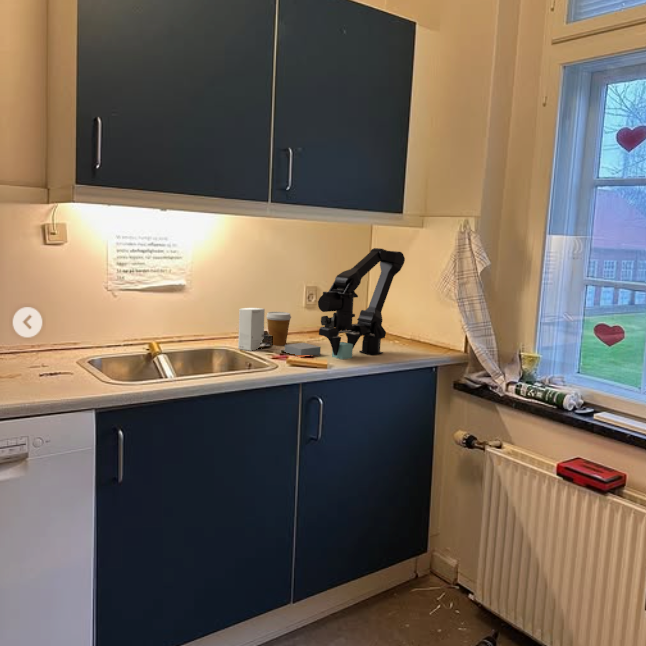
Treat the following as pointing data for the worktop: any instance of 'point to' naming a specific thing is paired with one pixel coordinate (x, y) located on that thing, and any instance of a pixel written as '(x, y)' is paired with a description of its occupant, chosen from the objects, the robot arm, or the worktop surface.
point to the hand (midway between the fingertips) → (342, 354)
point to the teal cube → (344, 351)
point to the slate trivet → (302, 349)
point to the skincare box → (251, 328)
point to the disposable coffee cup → (278, 327)
